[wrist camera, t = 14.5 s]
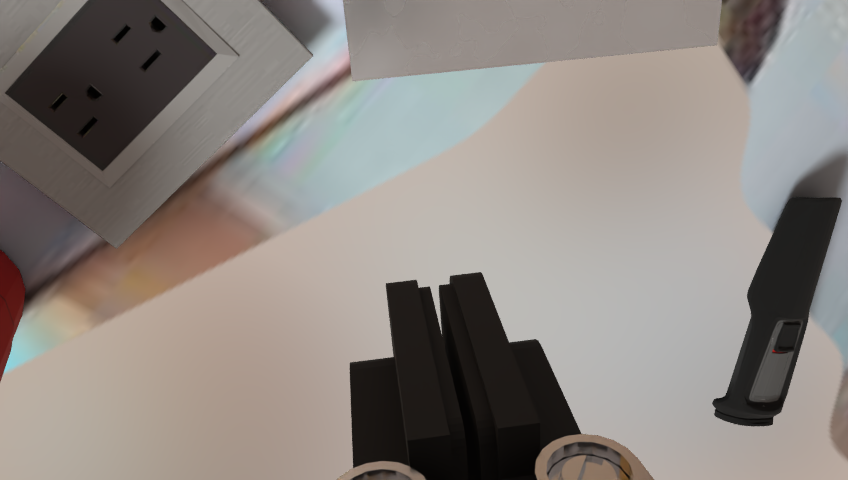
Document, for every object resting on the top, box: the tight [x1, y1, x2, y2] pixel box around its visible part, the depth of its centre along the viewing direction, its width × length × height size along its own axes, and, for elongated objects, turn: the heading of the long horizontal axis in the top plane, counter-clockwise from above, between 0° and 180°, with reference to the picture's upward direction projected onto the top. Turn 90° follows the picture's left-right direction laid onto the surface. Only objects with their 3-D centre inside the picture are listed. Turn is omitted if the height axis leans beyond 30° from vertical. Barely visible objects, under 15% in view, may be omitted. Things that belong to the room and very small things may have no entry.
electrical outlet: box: [0, 0, 313, 249], centre depth 31 cm, size 13×10×2 cm
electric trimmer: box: [712, 197, 842, 426], centre depth 41 cm, size 4×16×3 cm, turn 176°
